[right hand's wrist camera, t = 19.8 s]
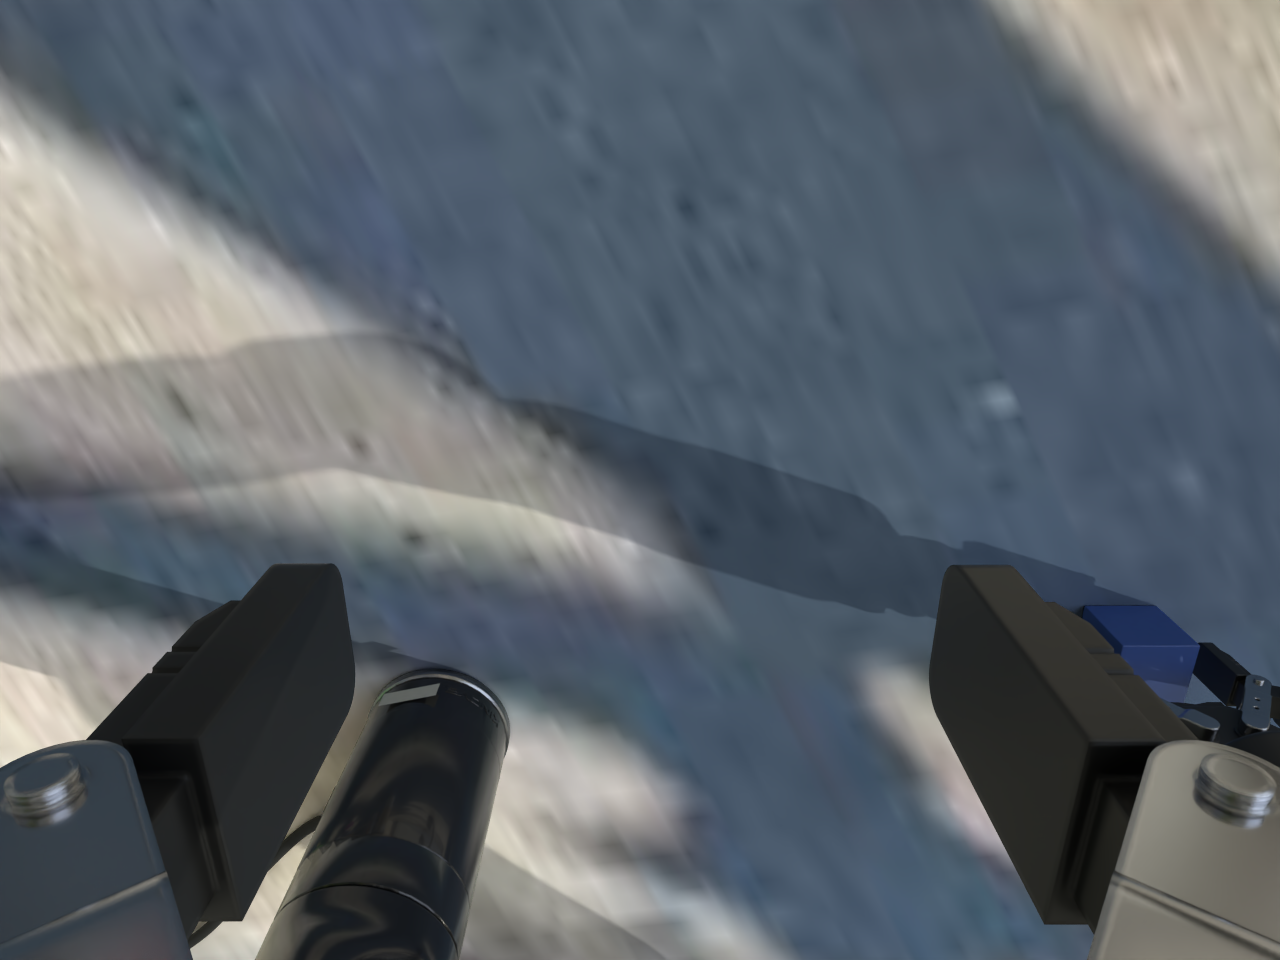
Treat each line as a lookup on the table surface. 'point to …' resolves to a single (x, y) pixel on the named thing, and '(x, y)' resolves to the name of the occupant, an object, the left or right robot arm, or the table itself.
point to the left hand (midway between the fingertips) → (1129, 654)
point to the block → (1148, 646)
